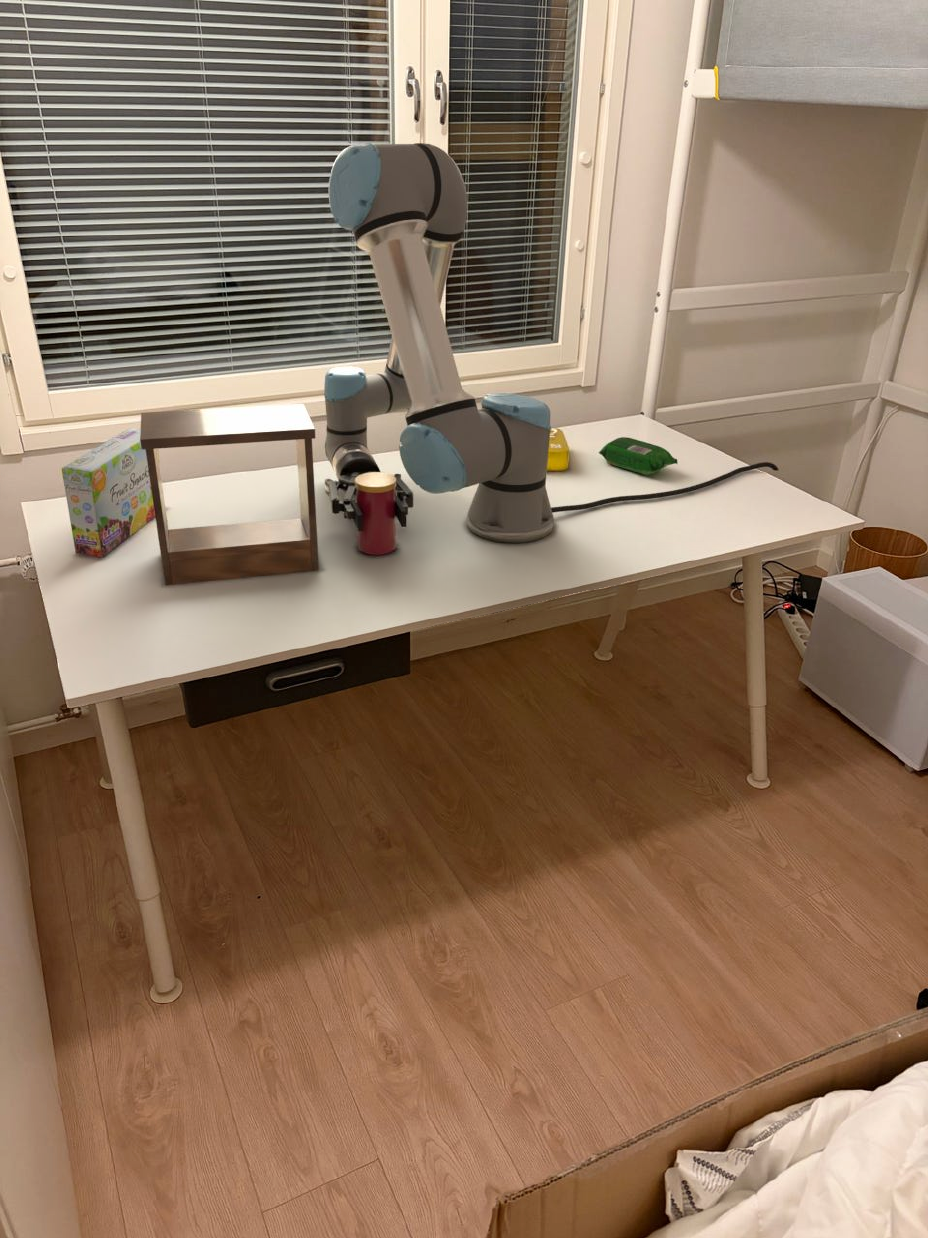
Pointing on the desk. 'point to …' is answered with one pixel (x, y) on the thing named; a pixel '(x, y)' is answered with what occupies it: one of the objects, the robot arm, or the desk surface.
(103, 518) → the snack box
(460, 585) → the desk surface
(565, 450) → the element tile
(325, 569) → the desk surface
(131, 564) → the desk surface
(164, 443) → the shelf
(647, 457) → the snack package
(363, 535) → the cylinder
